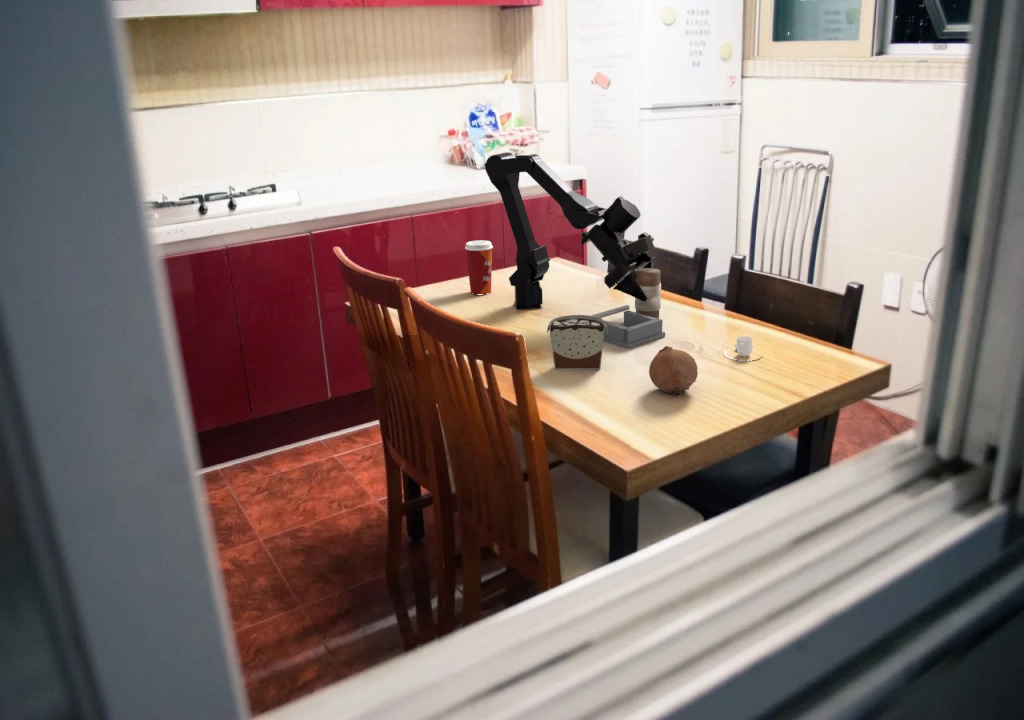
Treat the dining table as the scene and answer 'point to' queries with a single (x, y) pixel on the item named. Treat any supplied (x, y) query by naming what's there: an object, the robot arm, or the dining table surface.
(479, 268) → the paper cup
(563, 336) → the food container
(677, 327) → the dining table surface
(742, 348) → the teacup and saucer
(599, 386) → the dining table surface
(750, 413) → the dining table surface
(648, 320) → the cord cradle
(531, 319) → the dining table surface
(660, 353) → the onion
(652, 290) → the cord spool
